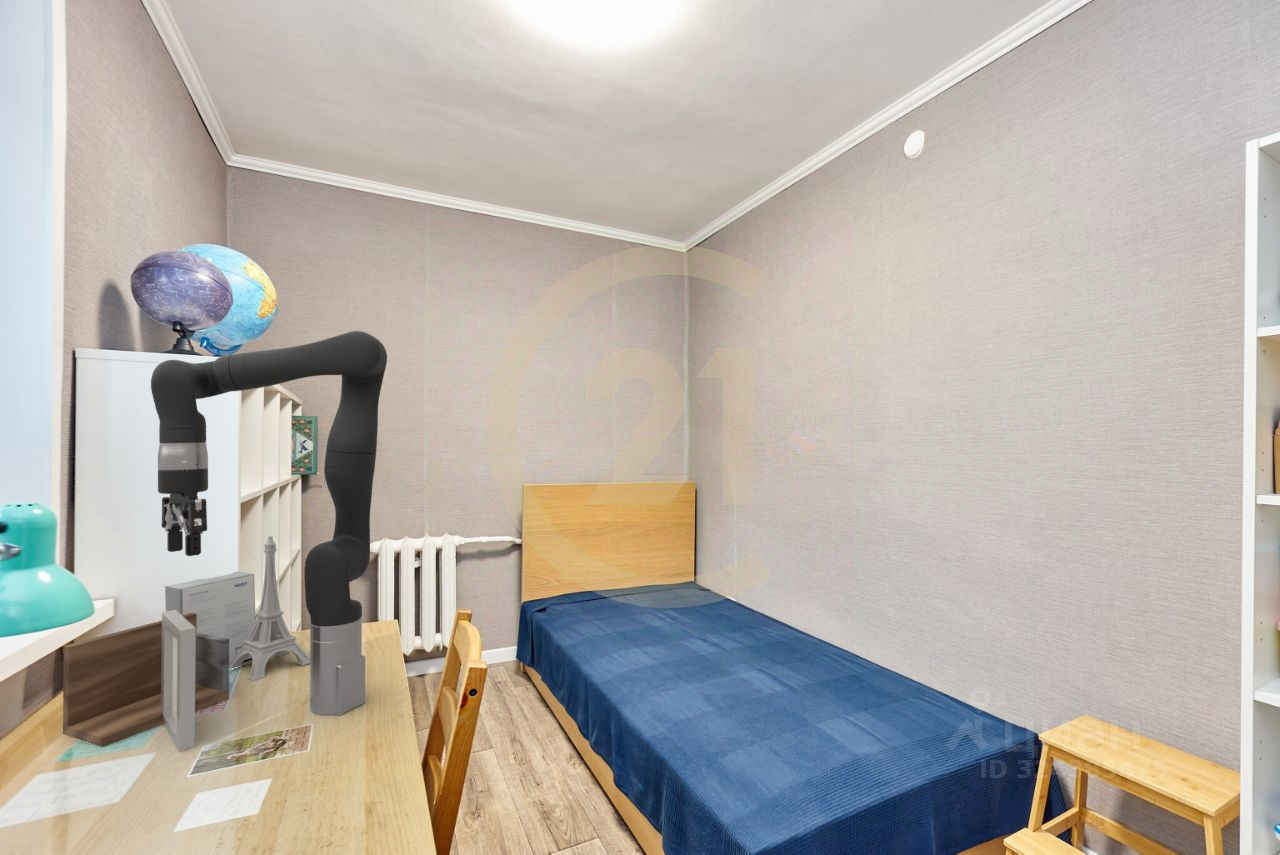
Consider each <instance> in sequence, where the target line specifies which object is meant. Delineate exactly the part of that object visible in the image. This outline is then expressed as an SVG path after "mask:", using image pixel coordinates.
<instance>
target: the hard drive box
mask: <svg viewBox="0 0 1280 855" xmlns="http://www.w3.org/2000/svg"><path fill="white" fill-rule="evenodd" d="M255 598H256V595H255V574H254V573H251V572H250V573H249V572H244V571H234V572H228V573H225V574H219V575H213V576H208V577H204V578H200V579H193V580H189V581H185V582H179V583H176V584H175V583H174V584H170V585H165V586H164V601H165V602H164V604H165V612H167V611H172V610H177V611H178V612H179V613H180V614H181V615H185V614H189V613H196V614H197V629H196V633H200V634H205V635H210V636H216V637H221V638H226V639H229V662H230V661H231V660H232V659H233V657H234V656H235V655H236V654H237V653H238V651H239V650H240V649H241V648H242V647H243V645H244V643H243V641H245V640H248V638H249V636H250V634H251V632H252V630H253V628H254V626H255V623H256V599H255ZM249 659H252V656H251V654H249V655H248V656H247V657H246V658H245V659H244V660H243V662H244V661H246V660H249Z"/></svg>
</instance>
